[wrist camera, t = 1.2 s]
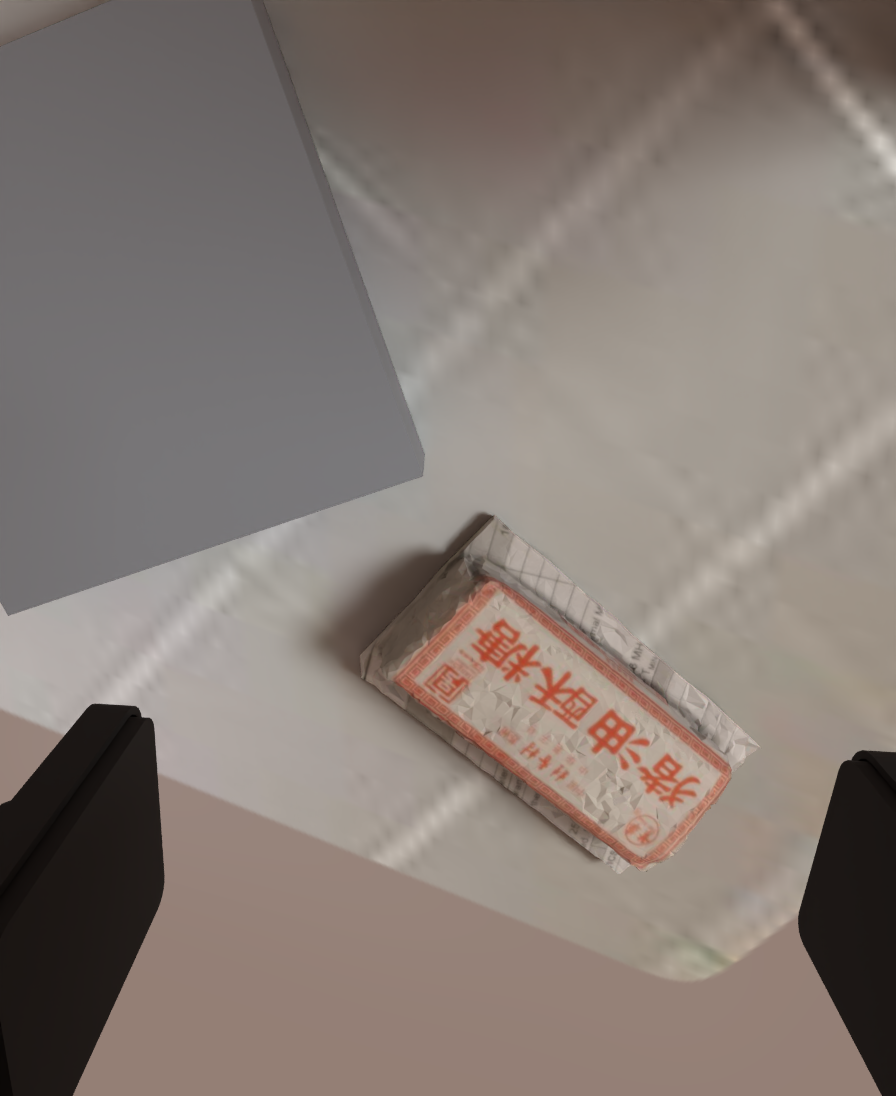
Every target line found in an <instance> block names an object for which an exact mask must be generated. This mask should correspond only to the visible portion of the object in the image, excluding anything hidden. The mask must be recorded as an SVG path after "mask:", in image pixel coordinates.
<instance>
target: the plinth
mask: <svg viewBox="0 0 896 1096" xmlns="http://www.w3.org/2000/svg"><path fill="white" fill-rule="evenodd" d="M424 456H425V454H424V451H423V448H422V445H421V442H420V440H419V437H418V434H417V431H416V428H415V426H414V423H413V420H412V417H411V414H410V412H409V409H408V406H407V403H406V400H405V398H404V395H403V392H402V389H401V386H400V384H399V381H398V378H397V375H396V372H395V370H394V367H393V364H392V361H391V358H390V356H389V353H388V350H387V347H386V344H385V342H384V339H383V336H382V333H381V330H380V328H379V325H378V322H377V319H376V316H375V314H374V311H373V308H372V305H371V302H370V300H369V297H368V294H367V291H366V288H365V286H364V283H363V280H362V277H361V274H360V272H359V269H358V266H357V263H356V260H355V258H354V255H353V252H352V249H351V246H350V244H349V241H348V238H347V235H346V232H345V230H344V227H343V224H342V221H341V218H340V216H339V213H338V210H337V207H336V204H335V202H334V199H333V196H332V193H331V190H330V188H329V185H328V182H327V179H326V176H325V174H324V171H323V168H322V165H321V162H320V160H319V157H318V154H317V151H316V148H315V146H314V143H313V140H312V137H311V134H310V132H309V129H308V126H307V123H306V120H305V118H304V115H303V112H302V109H301V106H300V104H299V101H298V98H297V95H296V92H295V90H294V87H293V84H292V81H291V78H290V76H289V73H288V70H287V67H286V64H285V62H284V59H283V56H282V53H281V50H280V48H279V45H278V42H277V39H276V36H275V34H274V31H273V28H272V25H271V22H270V20H269V17H268V14H267V11H266V8H265V6H264V3H263V0H111V1H108V2H106V3H103V4H101V5H99V6H96V7H94V8H91V9H89V10H87V11H84V12H82V13H79V14H77V15H75V16H72V17H70V18H67V19H65V20H63V21H60V22H58V23H55V24H53V25H51V26H48V27H46V28H43V29H41V30H39V31H36V32H34V33H31V34H29V35H26V36H24V37H22V38H19V39H17V40H14V41H12V42H10V43H7V44H5V45H2V46H0V602H1V604H2V606H3V607H4V609H5V611H6V613H7V614H8V616H9V615H12V614H15V613H18V612H21V611H24V610H27V609H30V608H33V607H36V606H39V605H42V604H45V603H48V602H50V601H53V600H56V599H59V598H62V597H65V596H68V595H71V594H74V593H77V592H80V591H83V590H86V589H89V588H92V587H95V586H98V585H101V584H104V583H107V582H110V581H113V580H116V579H119V578H122V577H125V576H128V575H131V574H134V573H137V572H140V571H143V570H146V569H149V568H151V567H154V566H157V565H160V564H163V563H166V562H169V561H172V560H175V559H178V558H181V557H184V556H187V555H190V554H193V553H196V552H199V551H202V550H205V549H208V548H211V547H214V546H217V545H220V544H223V543H226V542H229V541H232V540H235V539H238V538H241V537H244V536H247V535H250V534H252V533H255V532H258V531H261V530H264V529H267V528H270V527H273V526H276V525H279V524H282V523H285V522H288V521H291V520H294V519H297V518H300V517H303V516H306V515H309V514H312V513H315V512H318V511H321V510H324V509H327V508H330V507H333V506H336V505H339V504H342V503H345V502H348V501H351V500H353V499H356V498H359V497H362V496H365V495H368V494H371V493H374V492H377V491H380V490H383V489H386V488H389V487H392V486H395V485H398V484H401V483H404V482H407V481H410V480H413V479H416V478H419V477H422V476H423V469H424Z"/></svg>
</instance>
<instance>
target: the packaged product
mask: <svg viewBox="0 0 896 1096" xmlns="http://www.w3.org/2000/svg"><path fill="white" fill-rule="evenodd" d="M360 668H361V679H363V680H365V681H367V682H369V683H371V684H373V685H375V686H376V687H377V688H378V689H379V690H380V691H381V693H383V694H384V695H386V696H388V697H389V698H391V699H392V700H393V701H394V702H395V703H397V704H398V705H399V706H400V707H401V708H403V709H404V710H405V711H407V712H408V713H410V714H411V715H412V716H414V717H415V718H416V719H418V720H419V721H420V722H422V723H423V724H424V725H425V726H427V727H428V728H429V729H431V730H432V731H433V732H434V733H436V734H438V735H439V736H441V737H442V738H443V739H444V740H445V741H446V742H447V743H449V744H450V745H452V746H453V747H454V748H456V749H457V750H458V751H459V752H461V753H462V754H464V755H465V756H466V757H468V758H469V759H470V760H471V761H472V762H473V763H474V764H475V765H477V766H478V767H479V768H481V769H482V770H483V771H485V772H487V773H488V774H490V775H492V776H493V777H494V778H495V779H496V780H497V781H498V782H499V783H501V784H502V785H503V786H505V787H506V788H507V789H509V790H510V791H512V792H513V793H514V794H515V795H517V796H518V797H520V798H521V799H522V800H523V801H525V802H526V803H527V804H528V805H530V806H531V807H532V808H534V809H536V810H537V811H539V812H540V813H541V814H542V815H543V816H545V817H546V818H547V819H548V820H549V821H550V822H552V823H553V824H554V825H555V826H557V827H558V828H559V829H561V830H562V831H563V832H564V833H566V834H567V835H568V836H570V837H571V838H573V839H574V840H575V841H576V842H578V843H579V844H580V845H581V846H583V847H584V848H586V849H587V850H588V851H590V852H591V853H592V854H593V855H594V856H596V857H598V858H599V859H601V860H602V861H603V862H604V863H606V864H607V865H609V866H610V867H611V868H612V869H613V870H614V871H615V872H616V873H618V874H620V873H622V872H623V871H624V870H625V869H626V868H628V867H629V866H630V865H633V866H635V867H636V868H637V869H638V870H639V871H646V872H647V870H648V869H650V868H652V867H654V866H655V865H656V864H657V863H661V862H663V861H665V860H667V859H668V858H670V857H672V856H674V855H675V854H676V852H677V851H678V850H679V849H680V848H681V847H682V845H683V844H684V843H685V842H686V840H687V837H688V834H689V833H690V832H691V831H692V830H693V829H694V827H695V826H696V825H697V824H698V823H699V821H700V820H701V819H702V817H703V816H704V814H705V813H706V811H707V810H709V809H711V806H710V805H713V804H716V803H717V801H718V800H719V798H720V796H721V795H722V793H723V791H724V789H725V787H726V786H727V784H728V782H729V781H730V779H731V774H732V773H733V772H734V771H735V770H736V769H738V768H739V767H740V766H741V765H742V764H743V763H744V760H745V757H746V756H748V755H749V754H751V753H752V752H754V751H755V750H757V749H758V748H761V747H760V746H759V745H758V744H757V743H756V742H755V741H754V740H753V739H752V738H751V737H750V736H749V735H748V734H747V733H746V732H744V731H743V730H742V729H741V728H740V727H739V726H738V725H737V724H736V723H735V722H734V721H733V720H732V719H731V718H730V717H728V716H727V715H726V714H725V713H724V712H723V711H722V710H721V709H720V708H719V707H718V706H717V705H715V704H714V703H713V702H712V701H711V700H710V699H709V698H708V697H707V696H706V695H704V694H703V693H702V692H700V691H699V690H698V689H696V688H695V687H693V686H692V685H691V684H689V683H688V682H687V681H686V680H685V679H684V678H682V677H681V676H680V675H679V674H678V673H677V672H676V671H674V670H673V669H672V668H671V667H670V666H669V665H667V664H666V663H665V662H664V661H663V660H662V659H660V658H659V657H658V656H657V655H656V654H655V653H654V652H652V651H651V650H650V649H649V648H648V647H647V646H645V645H644V644H643V643H642V642H641V641H639V640H638V639H637V638H636V637H635V636H634V635H633V634H632V633H631V632H630V631H629V630H628V629H627V628H626V627H625V626H624V625H623V624H622V623H621V622H620V621H619V620H618V619H617V618H616V617H615V616H614V615H612V614H611V613H610V612H609V611H607V610H606V609H604V608H603V606H602V605H601V604H599V603H598V602H597V601H595V600H594V599H592V598H591V597H589V596H588V595H587V594H585V593H584V592H583V591H582V590H581V589H580V588H579V587H578V586H577V585H575V584H574V583H573V582H572V581H571V580H570V579H569V578H568V577H567V576H566V575H565V574H563V573H562V572H561V571H560V570H559V569H558V568H557V567H556V566H555V565H554V564H553V563H551V562H550V561H549V560H548V559H547V558H546V557H544V556H543V555H542V554H540V553H539V552H538V551H537V550H535V549H534V548H533V547H531V546H530V545H529V544H527V543H526V542H525V541H524V540H522V539H521V538H520V537H518V536H517V535H516V534H515V533H513V532H512V531H511V530H510V529H509V528H508V527H507V526H506V525H505V524H504V523H503V522H502V521H501V520H500V519H499V518H498V517H497V516H496V515H494V516H493V517H492V518H491V519H490V520H489V521H488V522H487V523H486V524H485V525H484V526H483V527H482V528H481V529H480V530H479V531H478V532H477V533H476V534H475V535H474V536H473V537H472V538H471V539H470V540H469V541H468V542H467V543H466V544H465V545H464V546H463V547H462V548H461V549H460V550H459V551H458V552H457V553H456V554H455V555H454V556H453V557H452V558H451V559H450V560H449V561H448V562H447V563H446V564H445V565H444V566H443V567H442V568H441V569H440V570H439V571H438V572H437V573H436V574H435V576H434V577H433V578H432V579H431V580H430V581H429V583H428V584H427V585H426V586H425V587H424V588H423V590H422V591H421V592H420V593H419V594H418V595H417V597H416V598H415V599H414V600H413V601H412V602H411V603H410V604H409V605H408V606H407V607H406V608H405V609H404V610H403V611H402V612H401V613H400V614H399V615H398V616H397V617H396V618H395V619H394V620H393V621H392V622H391V623H390V624H389V625H388V626H387V628H386V629H385V630H384V631H383V632H382V633H381V634H380V635H379V636H378V637H377V638H376V639H375V640H374V641H373V642H372V643H371V644H370V645H369V646H368V647H367V648H366V649H365V650H364V651H363V653H362V654H361V655H360Z"/></svg>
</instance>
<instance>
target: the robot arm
mask: <svg viewBox="0 0 896 1096" xmlns="http://www.w3.org/2000/svg"><path fill="white" fill-rule="evenodd" d="M163 889H164V863H163V849H162V835H161V820H160V805H159V791H158V775H157V761H156V746H155V732H154V724H153V721H152V719H150V718H142V717H141V713H140V710H139V708H137V707H136V706H125V705H109V704H92V705H90V706H89V707H88V708H87V709H86V710H85V712H84V713H83V714H82V715H81V716H80V718H79V719H78V720H77V721H76V722H75V724H74V725H73V726H72V727H71V728H70V730H69V731H68V732H67V733H66V735H65V736H64V737H63V738H62V740H61V741H60V742H59V743H58V744H57V745H56V747H55V748H54V749H53V750H52V752H51V753H50V754H49V755H48V756H47V758H46V759H45V760H44V761H43V763H42V764H41V765H40V766H39V767H38V769H37V770H36V771H35V772H34V773H33V775H32V776H31V777H30V778H29V779H28V781H27V782H26V783H25V784H24V785H23V787H22V788H21V789H20V790H19V791H18V793H17V794H16V795H15V796H14V798H13V799H12V800H11V801H8V802H5V803H3V804H1V805H0V1096H73V1093H74V1091H75V1089H76V1087H77V1085H78V1083H79V1080H80V1078H81V1076H82V1074H83V1072H84V1069H85V1067H86V1065H87V1063H88V1061H89V1058H90V1056H91V1054H92V1052H93V1050H94V1048H95V1045H96V1043H97V1041H98V1039H99V1037H100V1034H101V1032H102V1030H103V1028H104V1026H105V1023H106V1021H107V1019H108V1017H109V1015H110V1012H111V1010H112V1008H113V1006H114V1004H115V1001H116V999H117V997H118V995H119V993H120V991H121V988H122V986H123V984H124V982H125V980H126V978H127V975H128V973H129V971H130V969H131V967H132V964H133V962H134V960H135V958H136V955H137V953H138V951H139V949H140V947H141V945H142V943H143V940H144V938H145V936H146V934H147V932H148V929H149V927H150V925H151V923H152V921H153V918H154V916H155V914H156V912H157V910H158V907H159V904H160V902H161V898H162V894H163ZM798 925H799V933H800V937H801V939H802V942H803V945H804V947H805V948H806V950H807V952H808V954H809V956H810V958H811V960H812V962H813V964H814V966H815V968H816V970H817V972H818V974H819V975H820V977H821V979H822V981H823V983H824V985H825V987H826V989H827V990H828V992H829V995H830V997H831V998H832V1000H833V1002H834V1004H835V1006H836V1008H837V1010H838V1012H839V1014H840V1016H841V1018H842V1020H843V1022H844V1023H845V1025H846V1027H847V1029H848V1031H849V1033H850V1035H851V1037H852V1039H853V1041H854V1043H855V1045H856V1046H857V1049H858V1050H859V1052H860V1054H861V1056H862V1058H863V1060H864V1062H865V1064H866V1066H867V1068H868V1070H869V1072H870V1073H871V1075H872V1077H873V1079H874V1081H875V1083H876V1085H877V1087H878V1089H879V1091H880V1093H881V1094H882V1096H896V752H881V751H864V750H862V751H859V752H857V753H856V754H855V755H854V756H853V758H852V760H847V761H844V762H843V763H842V765H841V766H840V769H839V771H838V775H837V779H836V782H835V786H834V789H833V793H832V796H831V800H830V804H829V807H828V811H827V814H826V818H825V821H824V825H823V828H822V832H821V836H820V839H819V843H818V846H817V850H816V853H815V857H814V861H813V864H812V868H811V871H810V875H809V878H808V882H807V886H806V889H805V893H804V896H803V900H802V903H801V907H800V911H799V916H798Z"/></svg>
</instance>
